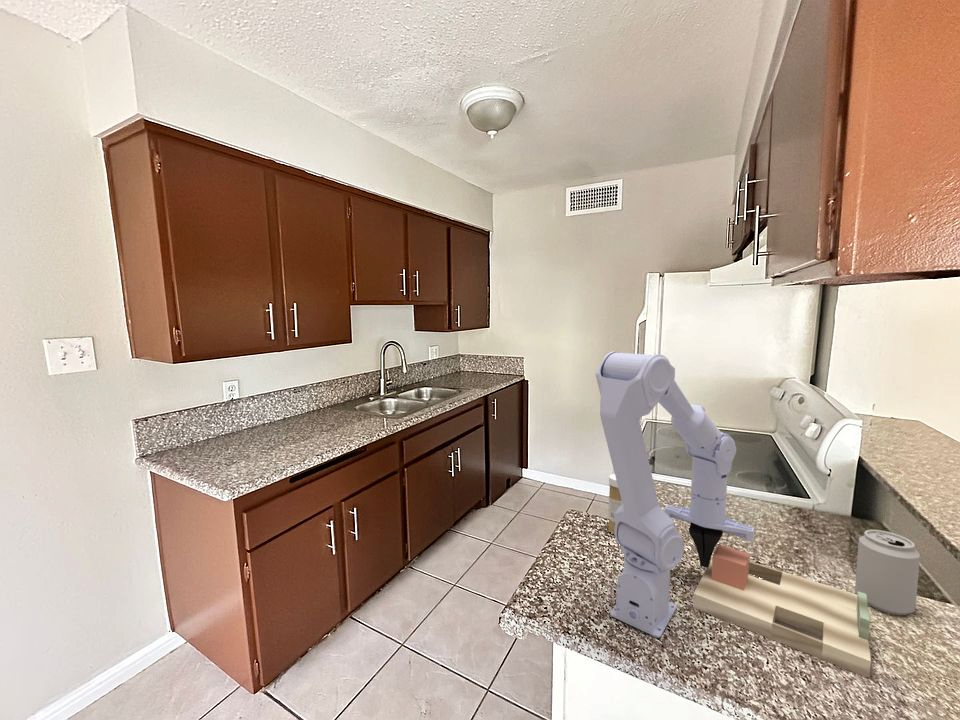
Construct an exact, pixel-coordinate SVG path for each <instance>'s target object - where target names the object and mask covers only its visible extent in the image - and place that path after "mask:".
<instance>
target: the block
mask: <svg viewBox="0 0 960 720" xmlns="http://www.w3.org/2000/svg"><path fill="white" fill-rule="evenodd" d="M750 556H751V554H750V553H749V552H745V551H741V550H738V549H737V548H736V549H735V548H732V547H728V546H725V545H722V544H718V543H717V545H716V547H715V549H714V551H713V553H712V557H713V558H712V557H711V559H712V578H711V579H712V580H715V581H718V582H720V583H723V584H726V585H729V586H732V587H735V588H737V589H740V590H743V591H744V589H745V586H746V583H747V580H748V574H749V561H750Z"/></svg>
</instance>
